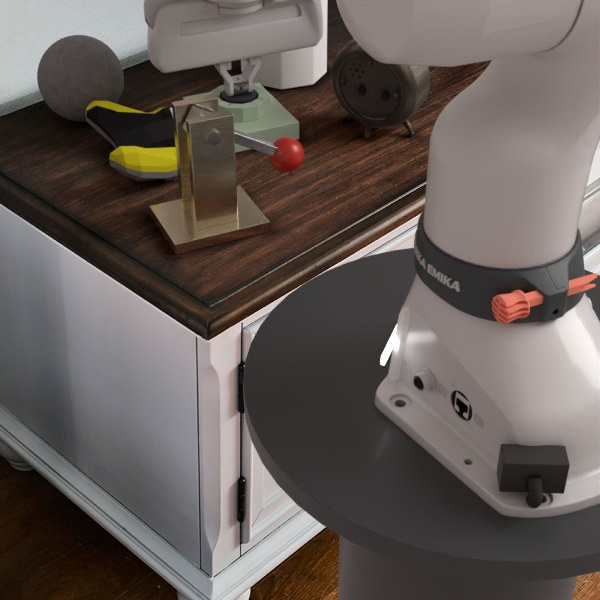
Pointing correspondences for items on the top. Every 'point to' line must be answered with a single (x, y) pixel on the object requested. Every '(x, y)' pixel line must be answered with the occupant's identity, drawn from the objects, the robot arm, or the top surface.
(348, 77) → the alarm clock
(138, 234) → the top surface
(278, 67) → the cup
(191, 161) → the switch bracket
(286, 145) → the switch lever
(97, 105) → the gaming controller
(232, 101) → the button
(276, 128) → the button box
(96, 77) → the decorative ball
